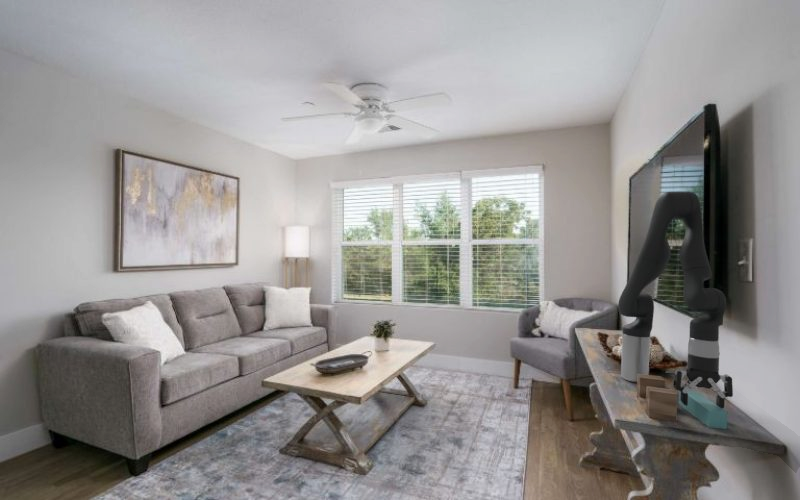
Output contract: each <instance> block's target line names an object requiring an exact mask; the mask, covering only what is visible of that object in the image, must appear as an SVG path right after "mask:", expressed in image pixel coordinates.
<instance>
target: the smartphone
mask: <svg viewBox="0 0 800 500" xmlns="http://www.w3.org/2000/svg"><path fill="white" fill-rule="evenodd" d="M665 373H667V375H675V370H674V371H673V369H671V371H666V372H665Z"/></svg>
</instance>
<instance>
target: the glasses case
mask: <svg viewBox="0 0 800 500" xmlns="http://www.w3.org/2000/svg"><path fill="white" fill-rule="evenodd" d="M687 394H688V405H687V406H686V405H684V404H683V403H682V402H681V391H679V390H678V404H679V406H681V407H682V408H683V409H685V410H686V411H687V412H688V413H690V415H693V417H695V418H696V419H697V420H699V421H700V422H701V423H702V424H704V425H705V426H706V427H708V428H713V429H714V428H715V429H723V430H724V429H725V430H726V429H728V411H727V410H724V409H723V408H720V407H719V406H717V405H716V403H715V402H712V400H710V399H709V398H707V397H705V396H704V395H702V394H701V393H699V392H697V391H696V390H692V389H690V390H689V391H688V392H687Z"/></svg>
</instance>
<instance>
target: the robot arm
mask: <svg viewBox="0 0 800 500" xmlns="http://www.w3.org/2000/svg"><path fill="white" fill-rule="evenodd" d="M702 217H703V215H702V207H701V201H700V198H699V197H698V195H697V194H696V193H695V192H692V191H665V192H663V193H661V194H660V195H659V196H658V198H657V200H656V202H655V204H654V207H653V212H652V216H651V218H650V223H649V227H648V230H647V233H646V235H645V238H644V241H643V243H642V247H641V248H640V251H639V253H638V256H637V258H636V260H635V261H636V262H635V263H634V264H635V265H634V267H633V269H632V272H631V274H630V277H629V278H628V281H627V283H626V285H625V287H624V288H623V291H621V292H622V293H621V295H620V297H619V300H618V303H617V309H618V313H619V314H620V315H621V316H623V317H627V318H635V319H634V321H632V322H630V323H628V324H625V325H623V327H622V331H621V332H622V334H621V335H622V337H621V361H620V362H621V365H620V378H621V379H623V380H625V381H628V382H633V383H637V374H645V375H650V367H649V362H650V350H651V332H652V330H653V322H654V311H655V302H654V300H653V297H652V296H651V295H650V294H649V293H645V292H644V293H642V291H643V290H644V289H645V288H646V287H647V286H648V285H650V284H651V283H653V282H654V281H656V279H658V278H660V276H662V274H663V273H664V272H665V270H666V268H667V266H668V263H669V261H670V259H671V257H672V256H671V255H672V251H671V247H670V244H669V240H668V237H667V231H668V228H669V226H670V224H671V222H672V221H675V220H676V221H677V220H678V221H680V220H682V222H683V225H684V230H685V234H684V239H683V241H682V244H681V247H680V249H679V254H678V255H679V263H680V266H681V270H682V273H683V277H684V278H683V292H682V293H683V294H682V295H683V301H684V303H685V305H686V307H687V308H688V309H690V310H691V311H693V312H701V313H700V315H699V316H698V317H696V318H693V319H691V320H690V322H689V339H688V344H687V345H688V346H687V369H686V371H685V370H680V369H678V368H675V370H674V372H675V374H673V375H674V376H673V377H674V378H673V384H672V385H673V388H674V389H675V390H677V391H678V392H679V391H681V402H682V403H683V404H684V405H686V406H687V405H688V394H687V392H688V391H689V390H692V389H693V388H694V387H697V388H705V389H709V390H710V389H713V391H714V392H715V393H716V394H717V395H716V398H715V404H716V405H717V406H719V407H720V408H722V409H723V410H724V408H725V399H726V398H732V397H733V396H734V394H733V393H734V392H733V391H734V390H733V378H732V377H731V376H730V375H728V374H724V375H721V374H720V372H719V371H720V369H719V368H720V344H719V339H720V337H719V335H720V333H719V331H720V330H719V329H720V325H721V323H722V320H723V317H724V314H725V311H726V308H727V299H726V296H725V294H724V292H723V291H722V290H720V289H718V288H716V287H715V288H713V287H712V288H711V287H708V288H707V287H704V282H705V281H708V280H710V279H711V278H712V276H713V272H712V269H711V265H710V261H709V259H708V255H707V251H706V245H705V240H704V239H705V238H704V227H703V218H702ZM685 376H686V377H687V378H688V379H686V381H685V382H684V384H682V379H683V378H684V377H685ZM720 380H721V381H722V382H721V383H723V386H724V390H723V391H722V390H721V388H720V387H719V386H718V385H717V383H718V382H719V381H720Z"/></svg>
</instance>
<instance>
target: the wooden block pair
mask: <svg viewBox="0 0 800 500" xmlns="http://www.w3.org/2000/svg"><path fill="white" fill-rule="evenodd" d="M636 398H637V400H638V402H639V403H640V405H641V407H642V408H643V411H644V412H645V413H646V415H647V416H648V418H653V419H657V420H658V419H659V420H664V419H665V421H670V420H672V422H677V420H678V419H677V418H678V417H677V415H678V393H677V392H676V391H675V390H674V389H671V388H669V389H668V388H666V380H665V379H664V377H662V376H661V375H651V374H649V375H645V374H637V382H636Z"/></svg>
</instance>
